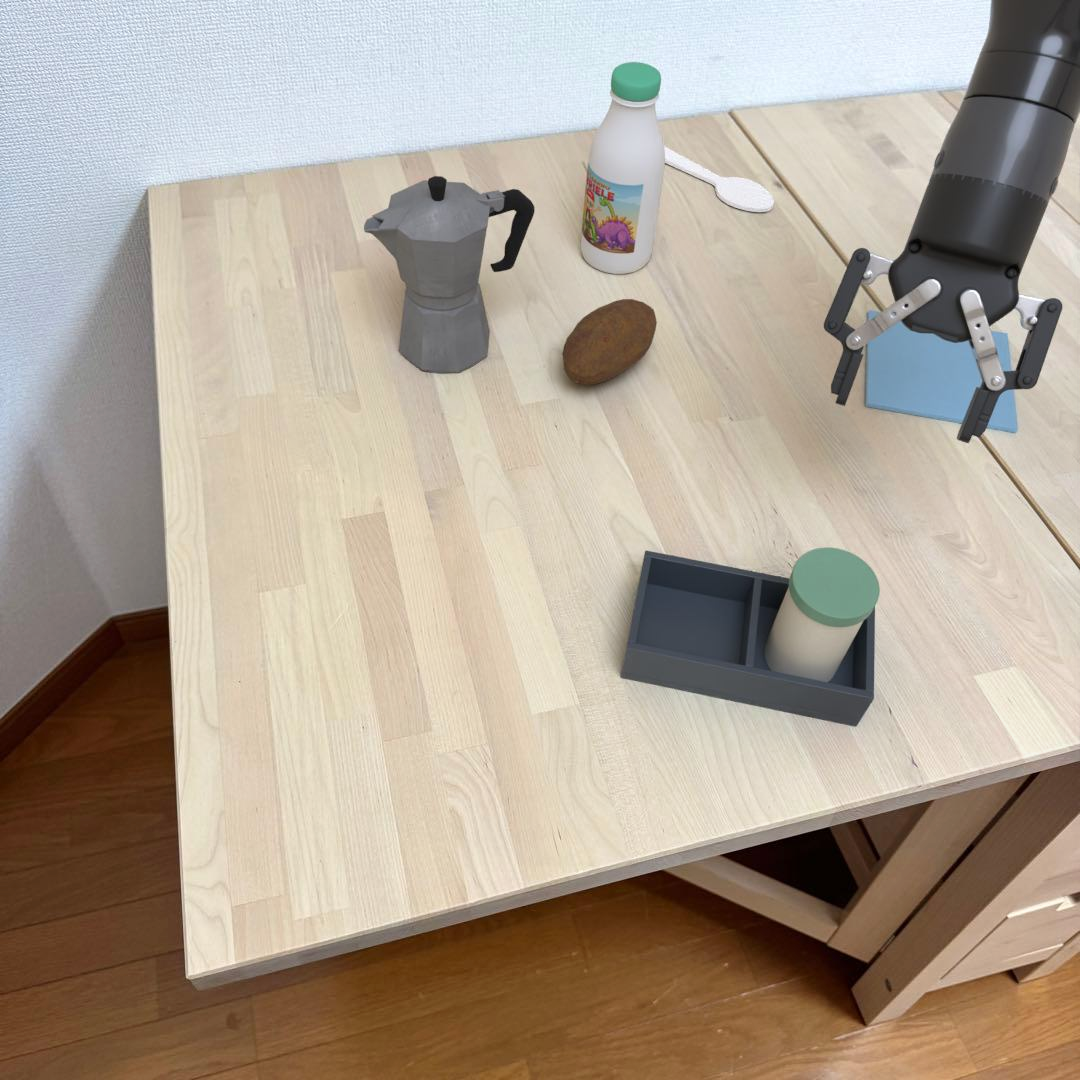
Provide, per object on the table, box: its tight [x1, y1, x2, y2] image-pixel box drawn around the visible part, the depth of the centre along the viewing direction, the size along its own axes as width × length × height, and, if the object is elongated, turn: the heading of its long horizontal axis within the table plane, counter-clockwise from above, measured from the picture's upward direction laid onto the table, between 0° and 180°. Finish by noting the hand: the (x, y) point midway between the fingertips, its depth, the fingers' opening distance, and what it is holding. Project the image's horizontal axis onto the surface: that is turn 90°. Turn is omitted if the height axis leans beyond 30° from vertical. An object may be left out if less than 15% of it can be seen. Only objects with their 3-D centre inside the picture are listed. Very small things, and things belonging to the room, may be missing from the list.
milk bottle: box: [580, 61, 666, 275], centre depth 100 cm, size 8×8×20 cm
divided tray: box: [620, 550, 876, 727], centre depth 76 cm, size 9×18×4 cm, turn 78°
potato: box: [561, 298, 658, 386], centre depth 94 cm, size 7×12×7 cm, turn 143°
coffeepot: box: [363, 175, 536, 374], centre depth 91 cm, size 15×9×18 cm, turn 110°
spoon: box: [664, 145, 775, 213], centre depth 117 cm, size 5×18×1 cm, turn 48°
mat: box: [865, 309, 1019, 434], centre depth 98 cm, size 14×14×1 cm
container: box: [764, 547, 881, 682], centre depth 73 cm, size 6×6×10 cm
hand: (900, 422), depth 70 cm, fingers open, 8 cm apart
